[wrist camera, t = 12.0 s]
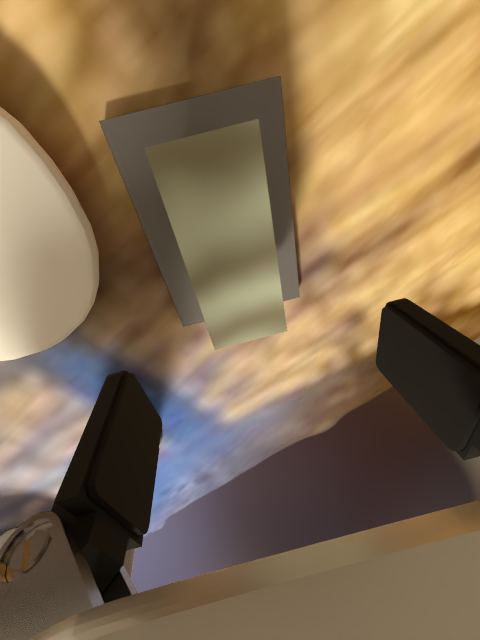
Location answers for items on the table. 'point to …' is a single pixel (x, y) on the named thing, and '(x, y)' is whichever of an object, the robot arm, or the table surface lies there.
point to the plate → (40, 248)
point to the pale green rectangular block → (224, 229)
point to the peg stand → (192, 119)
